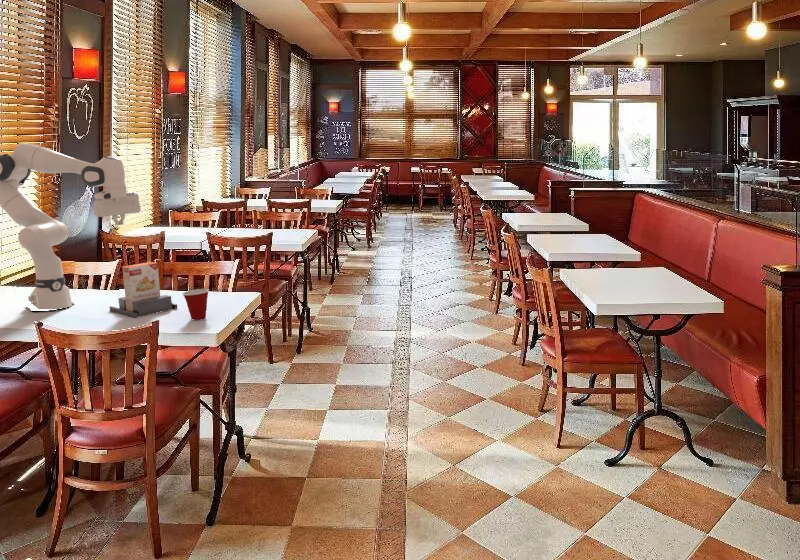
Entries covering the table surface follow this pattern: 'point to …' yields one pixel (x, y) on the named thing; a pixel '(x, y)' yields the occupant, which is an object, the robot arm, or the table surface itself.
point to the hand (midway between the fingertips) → (119, 224)
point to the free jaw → (122, 303)
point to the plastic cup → (197, 303)
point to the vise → (147, 306)
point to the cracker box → (140, 282)
